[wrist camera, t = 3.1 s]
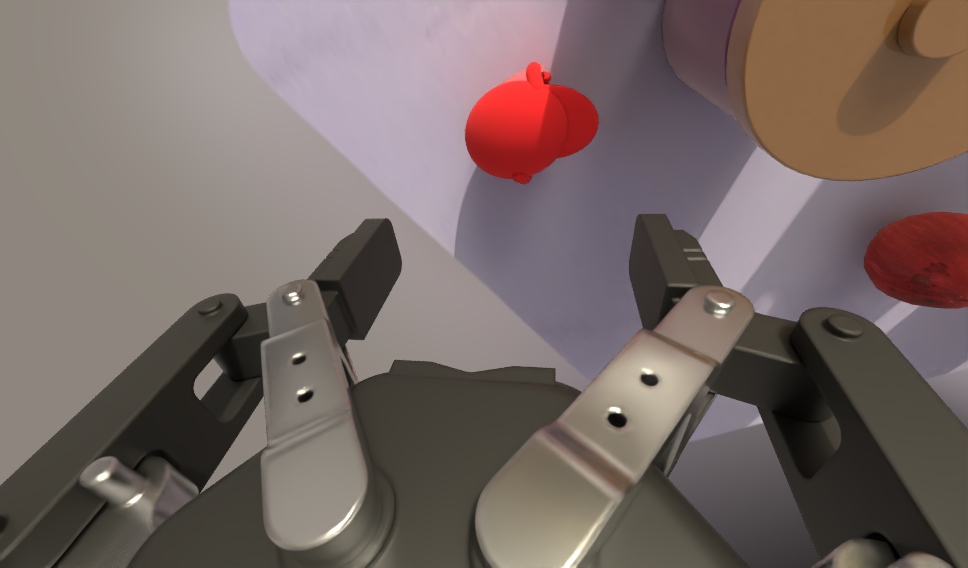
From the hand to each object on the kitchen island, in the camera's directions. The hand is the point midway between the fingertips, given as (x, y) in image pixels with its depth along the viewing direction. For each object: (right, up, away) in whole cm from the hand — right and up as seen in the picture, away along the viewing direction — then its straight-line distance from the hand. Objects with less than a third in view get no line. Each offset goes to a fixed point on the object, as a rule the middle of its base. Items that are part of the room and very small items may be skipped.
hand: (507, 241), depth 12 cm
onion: (+28, +2, +14) cm, 31 cm away
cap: (+2, +10, +13) cm, 16 cm away
